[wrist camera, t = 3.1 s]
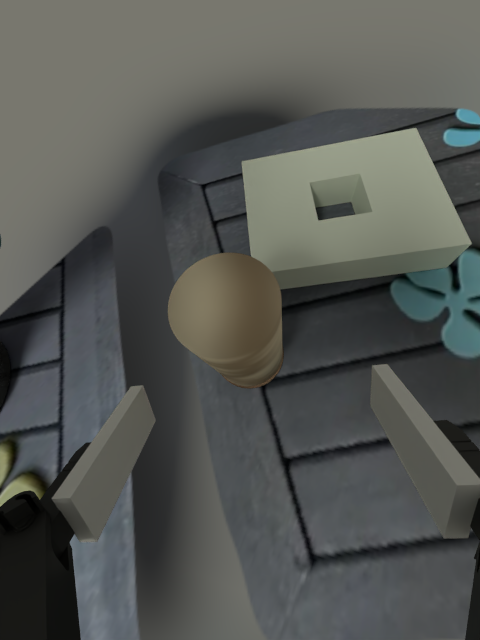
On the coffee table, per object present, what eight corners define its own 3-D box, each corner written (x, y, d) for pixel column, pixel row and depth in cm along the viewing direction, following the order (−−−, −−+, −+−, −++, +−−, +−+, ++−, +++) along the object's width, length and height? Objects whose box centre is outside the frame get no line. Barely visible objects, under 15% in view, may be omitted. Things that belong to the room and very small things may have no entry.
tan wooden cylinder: (226, 395, 26) (163, 366, 12) (224, 338, 28) (168, 259, 15) (287, 390, 26) (291, 353, 12) (279, 332, 28) (275, 243, 14)
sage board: (256, 292, 30) (252, 274, 26) (245, 188, 36) (241, 161, 32) (446, 267, 27) (471, 243, 24) (401, 160, 33) (415, 127, 30)
